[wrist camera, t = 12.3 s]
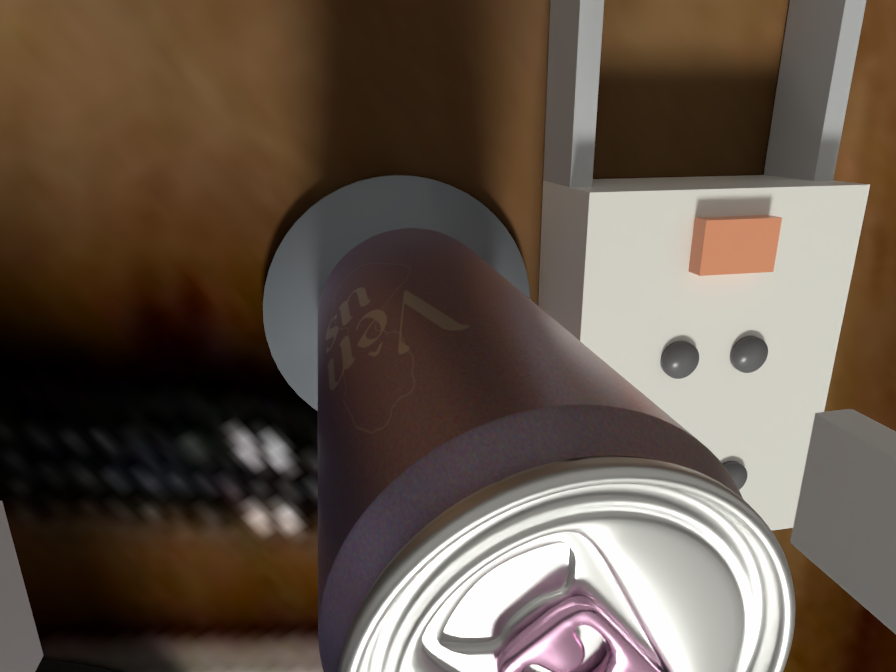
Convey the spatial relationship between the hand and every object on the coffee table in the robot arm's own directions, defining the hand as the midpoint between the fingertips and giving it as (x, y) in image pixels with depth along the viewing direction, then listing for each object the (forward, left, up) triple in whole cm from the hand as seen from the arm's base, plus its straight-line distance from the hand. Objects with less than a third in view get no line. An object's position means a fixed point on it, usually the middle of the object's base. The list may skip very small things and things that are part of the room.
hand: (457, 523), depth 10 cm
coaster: (0, 0, -12) cm, 12 cm away
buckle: (+10, -1, -12) cm, 16 cm away
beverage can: (+1, 0, -12) cm, 12 cm away
